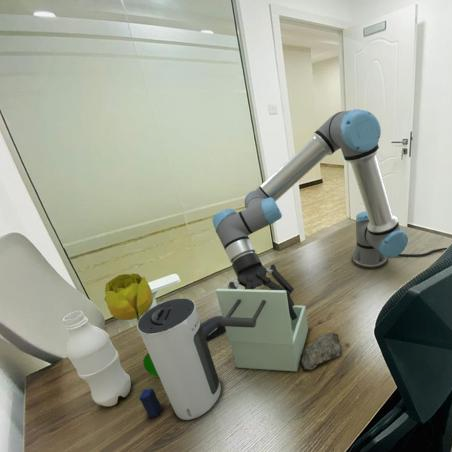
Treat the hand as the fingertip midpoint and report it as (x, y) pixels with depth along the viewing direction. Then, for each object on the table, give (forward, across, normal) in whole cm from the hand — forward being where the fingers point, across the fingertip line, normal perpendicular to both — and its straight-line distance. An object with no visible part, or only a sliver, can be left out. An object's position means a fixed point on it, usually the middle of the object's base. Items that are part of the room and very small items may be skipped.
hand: (277, 329), depth 70 cm
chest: (+4, 0, -8) cm, 9 cm away
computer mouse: (-8, +14, -21) cm, 26 cm away
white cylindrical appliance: (+5, +22, -8) cm, 24 cm away
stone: (+12, -8, -1) cm, 15 cm away
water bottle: (-6, +36, -19) cm, 41 cm away
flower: (-5, +27, -18) cm, 32 cm away
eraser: (+2, +30, -11) cm, 32 cm away
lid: (-5, +5, +7) cm, 10 cm away
